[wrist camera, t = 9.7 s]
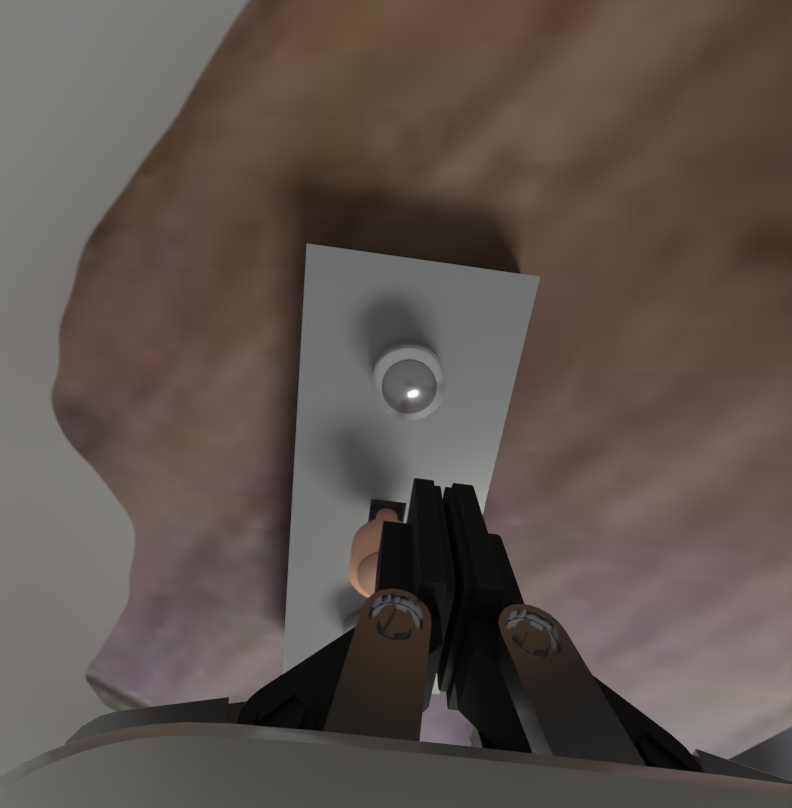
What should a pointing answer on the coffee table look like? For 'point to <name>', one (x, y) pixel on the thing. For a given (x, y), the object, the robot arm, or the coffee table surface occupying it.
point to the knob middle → (367, 552)
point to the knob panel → (376, 430)
